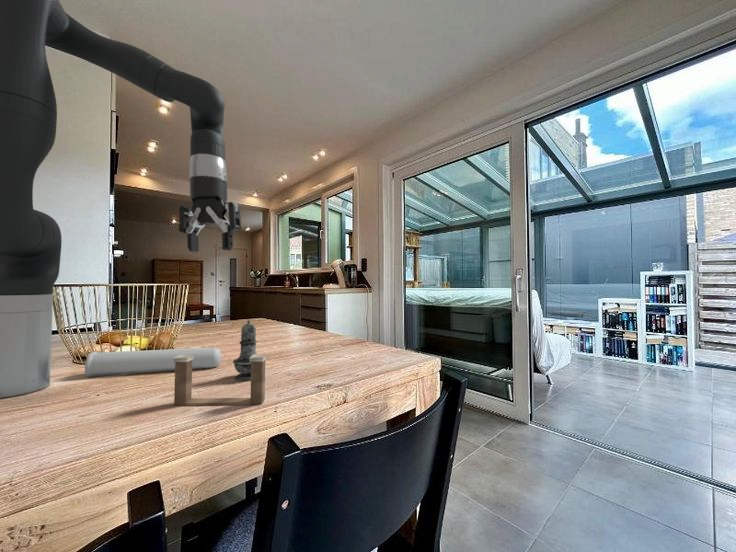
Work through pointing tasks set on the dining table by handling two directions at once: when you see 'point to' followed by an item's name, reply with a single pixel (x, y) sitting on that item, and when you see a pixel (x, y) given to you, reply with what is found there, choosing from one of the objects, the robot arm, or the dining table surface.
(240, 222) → the robot arm
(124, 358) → the tube
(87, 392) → the dining table surface
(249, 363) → the salt shaker
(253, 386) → the walnut gate
